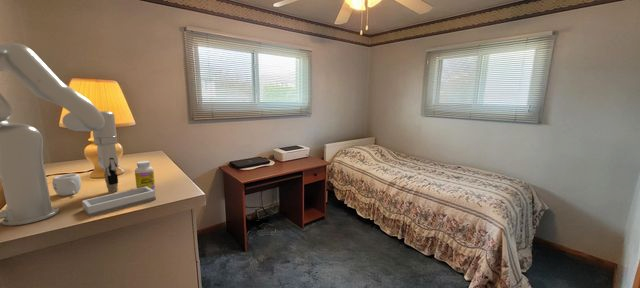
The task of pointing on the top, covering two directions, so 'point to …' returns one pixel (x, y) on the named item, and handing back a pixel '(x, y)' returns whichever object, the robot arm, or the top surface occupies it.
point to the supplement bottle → (144, 175)
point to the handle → (110, 187)
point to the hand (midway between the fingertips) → (111, 182)
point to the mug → (66, 184)
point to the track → (118, 200)
